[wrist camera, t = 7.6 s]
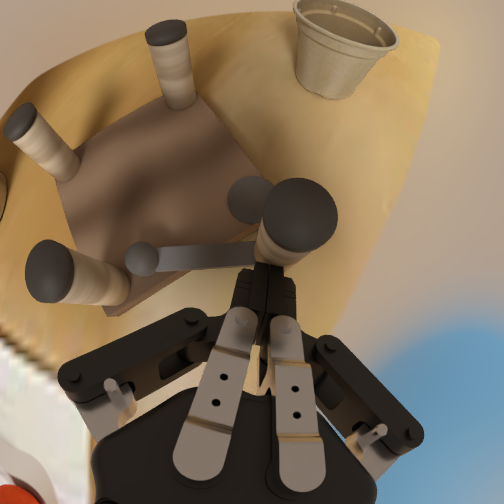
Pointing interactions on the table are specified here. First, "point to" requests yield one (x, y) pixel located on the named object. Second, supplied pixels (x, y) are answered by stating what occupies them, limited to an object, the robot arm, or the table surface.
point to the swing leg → (268, 238)
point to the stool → (140, 187)
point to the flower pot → (338, 45)
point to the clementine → (15, 495)
